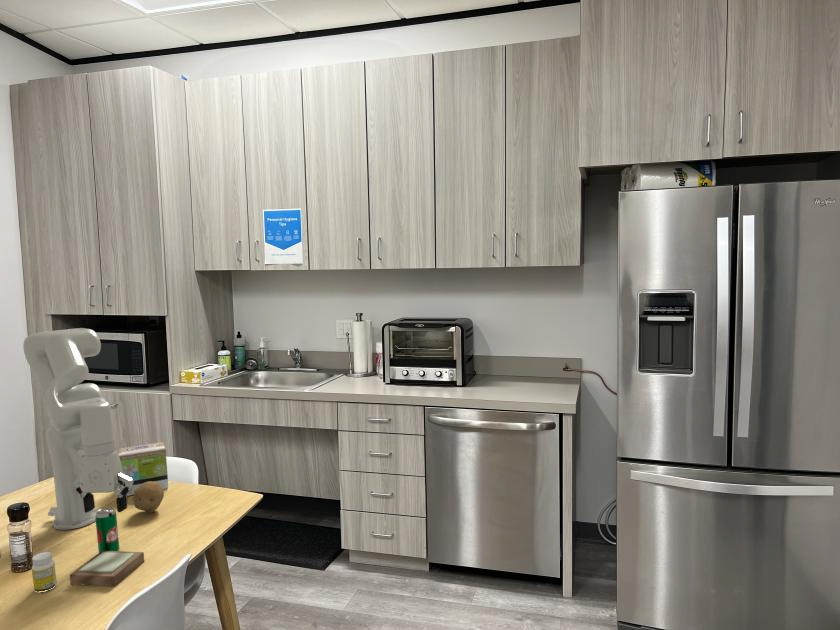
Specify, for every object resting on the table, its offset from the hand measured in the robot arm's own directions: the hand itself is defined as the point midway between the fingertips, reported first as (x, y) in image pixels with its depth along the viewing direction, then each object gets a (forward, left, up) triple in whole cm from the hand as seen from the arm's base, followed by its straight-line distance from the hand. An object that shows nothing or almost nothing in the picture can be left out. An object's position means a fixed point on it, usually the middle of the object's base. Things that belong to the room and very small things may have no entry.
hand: (106, 510), depth 162 cm
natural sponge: (-5, +25, -12) cm, 29 cm away
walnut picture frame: (+6, -10, -12) cm, 17 cm away
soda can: (-1, 0, -12) cm, 12 cm away
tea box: (-19, +44, -13) cm, 50 cm away
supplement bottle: (-5, -18, -12) cm, 22 cm away
